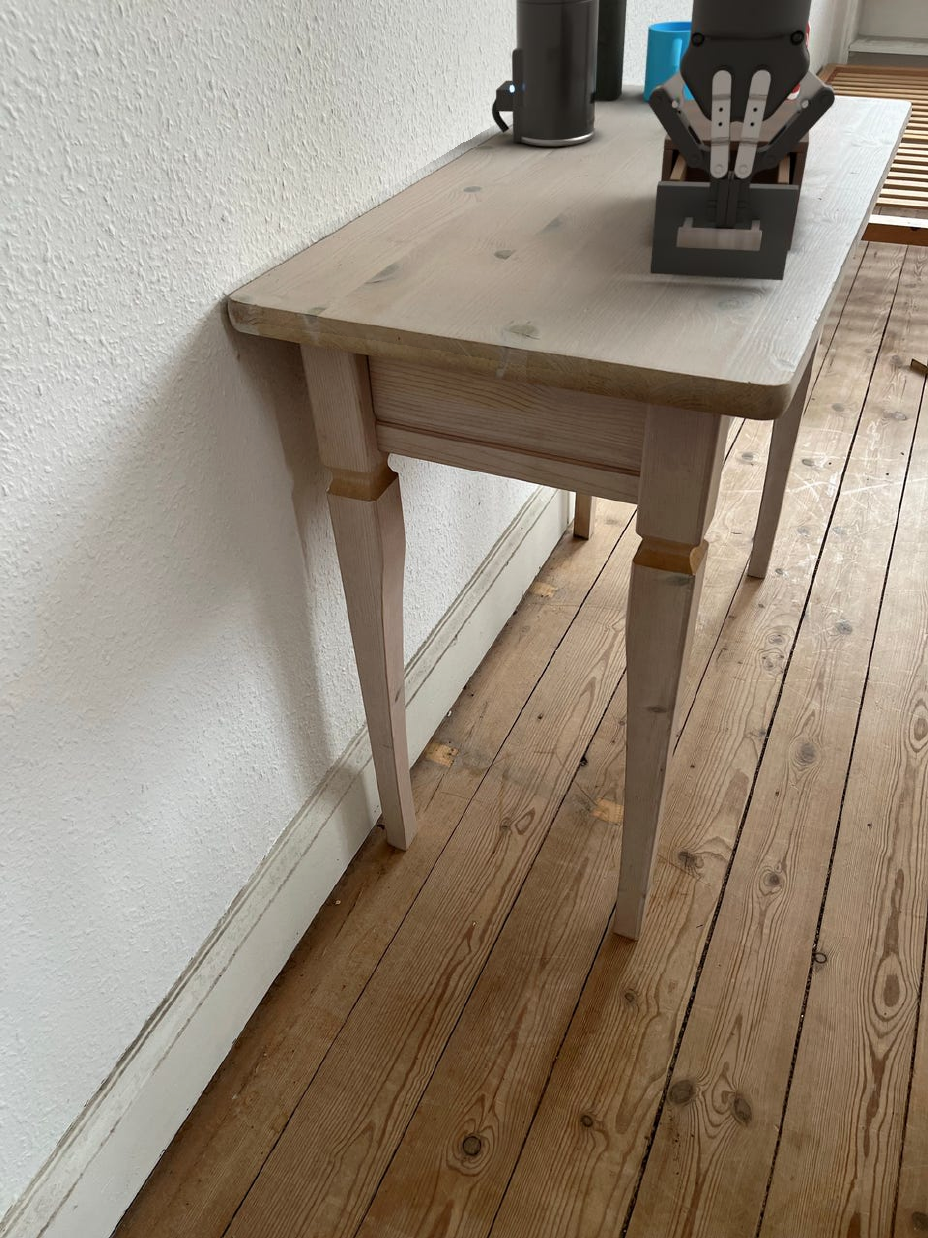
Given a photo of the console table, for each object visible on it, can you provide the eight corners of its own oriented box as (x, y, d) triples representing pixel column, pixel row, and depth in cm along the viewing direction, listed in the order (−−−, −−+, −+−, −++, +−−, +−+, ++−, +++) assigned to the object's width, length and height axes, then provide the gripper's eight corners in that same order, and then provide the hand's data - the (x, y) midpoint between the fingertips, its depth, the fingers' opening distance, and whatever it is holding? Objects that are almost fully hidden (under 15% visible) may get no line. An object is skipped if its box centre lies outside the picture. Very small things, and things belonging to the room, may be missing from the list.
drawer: (781, 302, 71) (797, 208, 66) (642, 294, 73) (649, 203, 69) (785, 224, 84) (799, 141, 79) (667, 219, 86) (675, 138, 82)
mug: (646, 90, 130) (651, 21, 125) (706, 90, 129) (713, 20, 123) (637, 110, 122) (642, 37, 116) (702, 111, 120) (710, 37, 115)
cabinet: (790, 249, 81) (809, 141, 76) (655, 243, 84) (664, 139, 79) (792, 198, 92) (809, 100, 86) (672, 194, 95) (681, 98, 89)
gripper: (866, -65, 61) (816, 215, 72) (659, -57, 64) (642, 210, 75) (873, -55, 55) (817, 247, 66) (646, -46, 58) (629, 240, 69)
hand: (724, 227), depth 70 cm, fingers closed
